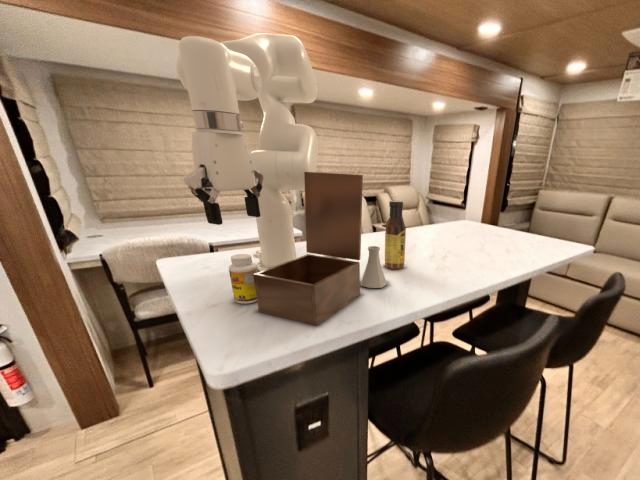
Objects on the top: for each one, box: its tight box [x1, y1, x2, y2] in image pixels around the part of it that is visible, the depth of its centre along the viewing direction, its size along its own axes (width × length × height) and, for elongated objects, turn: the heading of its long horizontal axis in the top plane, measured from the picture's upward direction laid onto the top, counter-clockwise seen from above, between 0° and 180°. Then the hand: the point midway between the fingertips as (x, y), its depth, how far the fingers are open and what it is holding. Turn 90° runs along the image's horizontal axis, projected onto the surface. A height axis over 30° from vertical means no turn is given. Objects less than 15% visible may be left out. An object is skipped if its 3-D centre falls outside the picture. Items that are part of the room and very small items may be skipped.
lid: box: [304, 171, 364, 261], centre depth 73 cm, size 18×15×5 cm
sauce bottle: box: [384, 200, 407, 270], centre depth 93 cm, size 6×6×20 cm
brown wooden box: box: [253, 253, 361, 326], centre depth 68 cm, size 18×15×8 cm
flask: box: [360, 245, 388, 289], centre depth 80 cm, size 7×7×10 cm
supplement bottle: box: [228, 253, 259, 305], centre depth 68 cm, size 6×6×10 cm
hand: (236, 219), depth 64 cm, fingers open, 9 cm apart
